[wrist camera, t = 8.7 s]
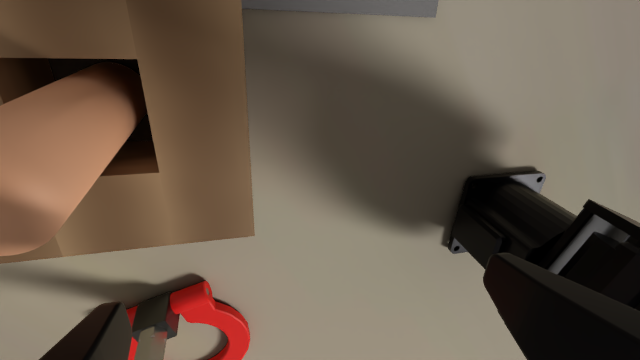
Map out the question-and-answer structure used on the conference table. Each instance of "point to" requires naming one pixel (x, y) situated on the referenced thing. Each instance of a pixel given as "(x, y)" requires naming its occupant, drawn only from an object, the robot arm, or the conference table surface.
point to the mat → (350, 6)
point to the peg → (61, 148)
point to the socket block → (163, 111)
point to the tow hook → (196, 307)
